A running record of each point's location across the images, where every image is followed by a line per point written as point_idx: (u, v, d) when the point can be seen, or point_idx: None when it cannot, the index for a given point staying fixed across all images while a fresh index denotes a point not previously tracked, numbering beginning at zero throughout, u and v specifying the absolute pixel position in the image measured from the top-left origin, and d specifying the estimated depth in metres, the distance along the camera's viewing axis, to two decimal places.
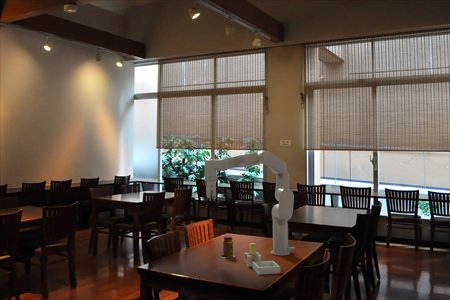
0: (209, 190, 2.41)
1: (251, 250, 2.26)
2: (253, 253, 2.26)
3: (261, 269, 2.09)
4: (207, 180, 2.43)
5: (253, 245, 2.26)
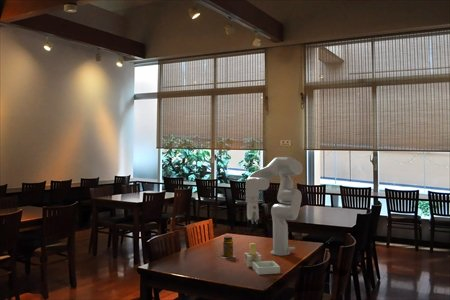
0: (251, 212, 2.23)
1: (251, 250, 2.26)
2: (253, 253, 2.26)
3: (261, 269, 2.09)
4: (249, 201, 2.25)
5: (253, 245, 2.26)
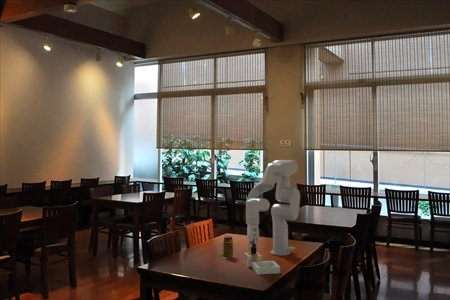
0: (252, 234, 2.23)
1: None
2: None
3: (261, 269, 2.09)
4: (249, 223, 2.25)
5: None
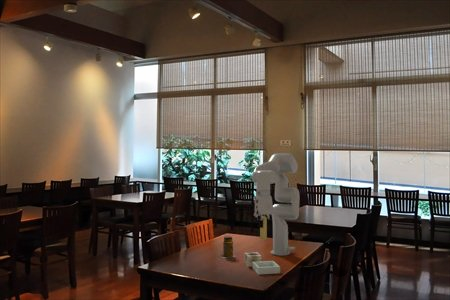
0: (255, 205, 2.16)
1: None
2: None
3: (261, 269, 2.09)
4: None
5: None
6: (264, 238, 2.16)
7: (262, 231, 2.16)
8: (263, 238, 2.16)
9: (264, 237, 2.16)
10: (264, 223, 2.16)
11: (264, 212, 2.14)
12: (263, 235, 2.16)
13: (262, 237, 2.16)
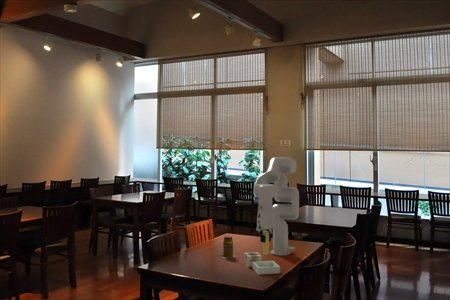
0: (257, 220, 2.14)
1: None
2: None
3: (261, 269, 2.09)
4: None
5: None
6: (266, 253, 2.14)
7: (264, 246, 2.14)
8: (265, 253, 2.14)
9: (266, 252, 2.14)
10: (266, 238, 2.14)
11: (266, 227, 2.13)
12: (265, 250, 2.14)
13: (264, 252, 2.14)
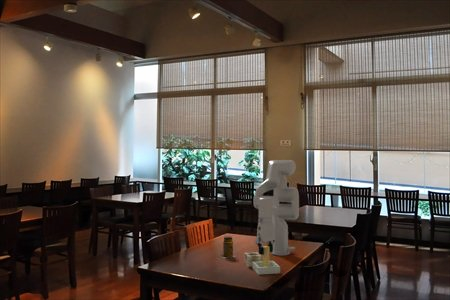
0: (257, 233, 2.14)
1: None
2: (263, 256, 2.15)
3: (261, 269, 2.09)
4: None
5: (264, 248, 2.14)
6: None
7: (265, 261, 2.14)
8: None
9: None
10: (267, 253, 2.14)
11: (267, 239, 2.13)
12: (265, 265, 2.14)
13: None
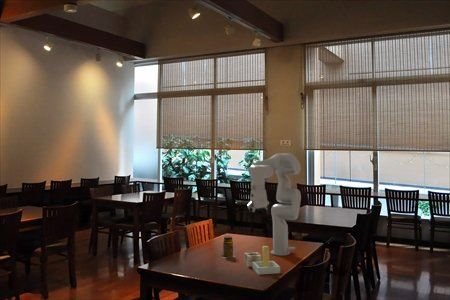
0: (250, 200, 2.23)
1: None
2: (263, 256, 2.15)
3: (261, 269, 2.09)
4: None
5: (263, 248, 2.15)
6: None
7: (265, 261, 2.14)
8: None
9: None
10: (266, 253, 2.14)
11: (259, 205, 2.21)
12: (265, 265, 2.14)
13: None
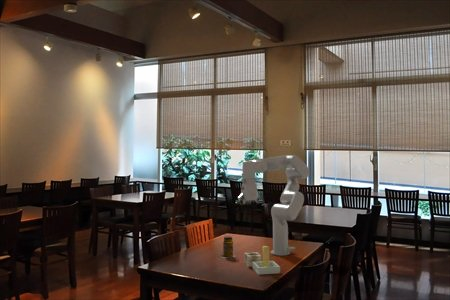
0: (241, 192, 2.34)
1: None
2: (263, 256, 2.15)
3: (261, 269, 2.09)
4: None
5: (263, 248, 2.15)
6: None
7: (265, 261, 2.14)
8: None
9: None
10: (267, 253, 2.14)
11: (250, 198, 2.33)
12: (265, 265, 2.14)
13: None
